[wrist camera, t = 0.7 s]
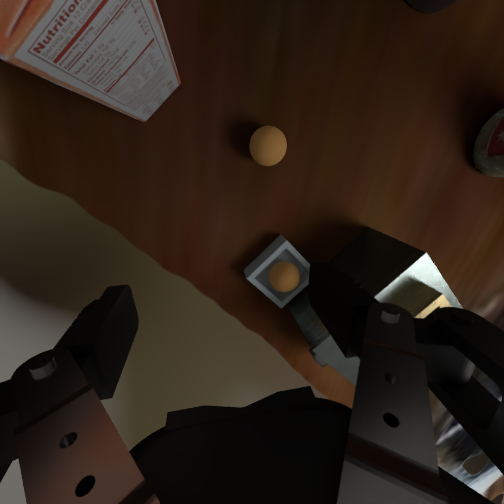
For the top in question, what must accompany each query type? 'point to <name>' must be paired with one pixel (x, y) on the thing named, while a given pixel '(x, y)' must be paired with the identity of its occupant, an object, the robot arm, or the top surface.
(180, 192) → the top surface
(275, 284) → the bead
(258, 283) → the bead dish
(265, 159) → the bead
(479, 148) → the bottle
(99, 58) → the cracker box
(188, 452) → the robot arm
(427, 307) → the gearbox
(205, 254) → the top surface
